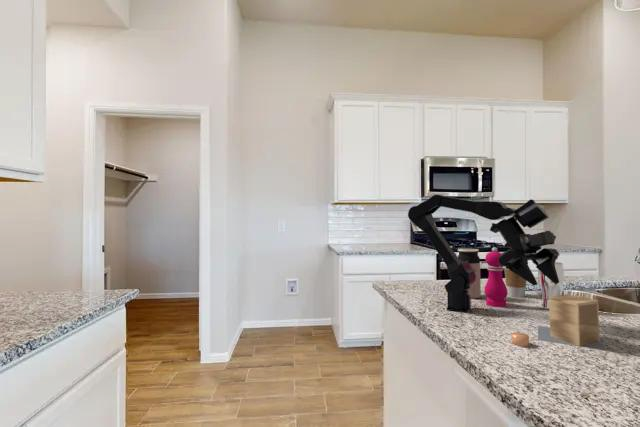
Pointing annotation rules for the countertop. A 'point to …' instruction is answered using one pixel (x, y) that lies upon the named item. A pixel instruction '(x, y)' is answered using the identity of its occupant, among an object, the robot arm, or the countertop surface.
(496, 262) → the pepper mill
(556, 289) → the white drink can
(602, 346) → the slate mat
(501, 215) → the robot arm
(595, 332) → the cover box
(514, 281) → the coffee cup
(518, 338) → the glossy peach egg
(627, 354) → the countertop surface
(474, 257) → the travel mug
